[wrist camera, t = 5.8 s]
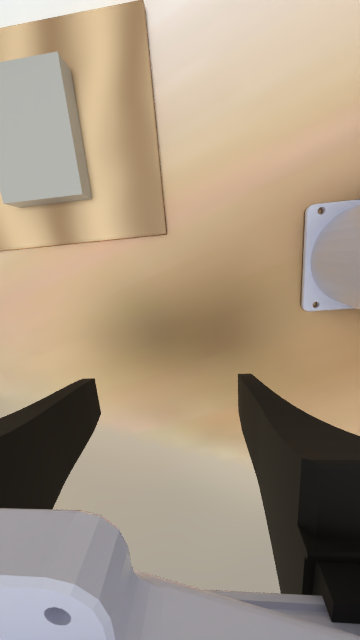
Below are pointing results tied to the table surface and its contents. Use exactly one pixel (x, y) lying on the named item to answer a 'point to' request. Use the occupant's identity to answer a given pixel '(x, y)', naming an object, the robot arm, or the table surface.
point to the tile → (40, 134)
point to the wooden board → (97, 129)
